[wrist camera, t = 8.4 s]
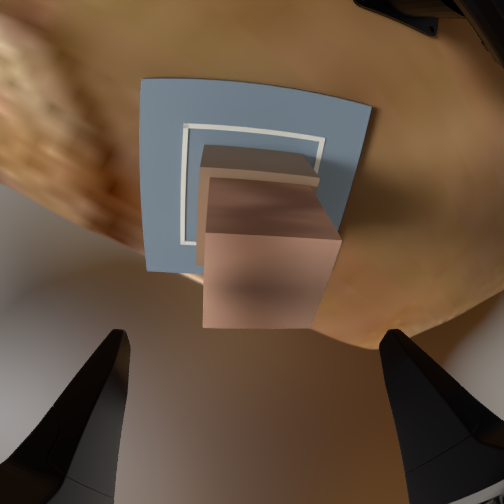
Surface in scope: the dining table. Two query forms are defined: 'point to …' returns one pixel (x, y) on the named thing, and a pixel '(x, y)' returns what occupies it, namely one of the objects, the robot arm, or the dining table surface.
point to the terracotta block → (265, 254)
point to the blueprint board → (239, 111)
